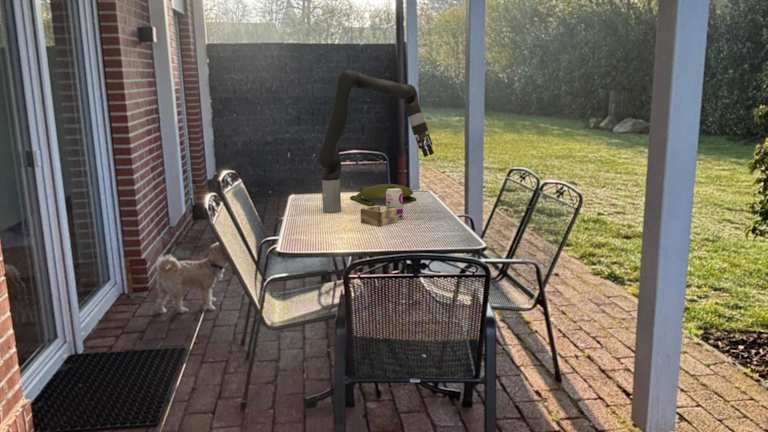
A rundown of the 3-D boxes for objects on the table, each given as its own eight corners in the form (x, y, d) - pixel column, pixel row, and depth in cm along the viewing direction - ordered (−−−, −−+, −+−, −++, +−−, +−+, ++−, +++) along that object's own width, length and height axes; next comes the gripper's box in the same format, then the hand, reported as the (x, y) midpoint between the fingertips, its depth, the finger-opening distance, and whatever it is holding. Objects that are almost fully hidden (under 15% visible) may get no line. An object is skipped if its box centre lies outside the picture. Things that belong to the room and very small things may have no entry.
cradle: (378, 219, 325) (377, 205, 324) (397, 222, 316) (396, 208, 315) (361, 223, 318) (360, 208, 316) (380, 226, 308) (379, 212, 307)
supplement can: (405, 217, 327) (404, 188, 324) (400, 221, 319) (399, 190, 316) (389, 217, 329) (388, 187, 326) (384, 220, 322) (383, 190, 319)
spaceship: (348, 199, 385) (347, 183, 383) (395, 194, 397) (395, 178, 395) (372, 209, 353) (372, 191, 351) (423, 203, 366) (422, 186, 364)
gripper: (416, 125, 326) (426, 156, 326) (406, 127, 313) (417, 159, 313) (429, 120, 322) (440, 151, 323) (420, 122, 309) (431, 154, 310)
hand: (429, 155), depth 318 cm, fingers open, 8 cm apart
